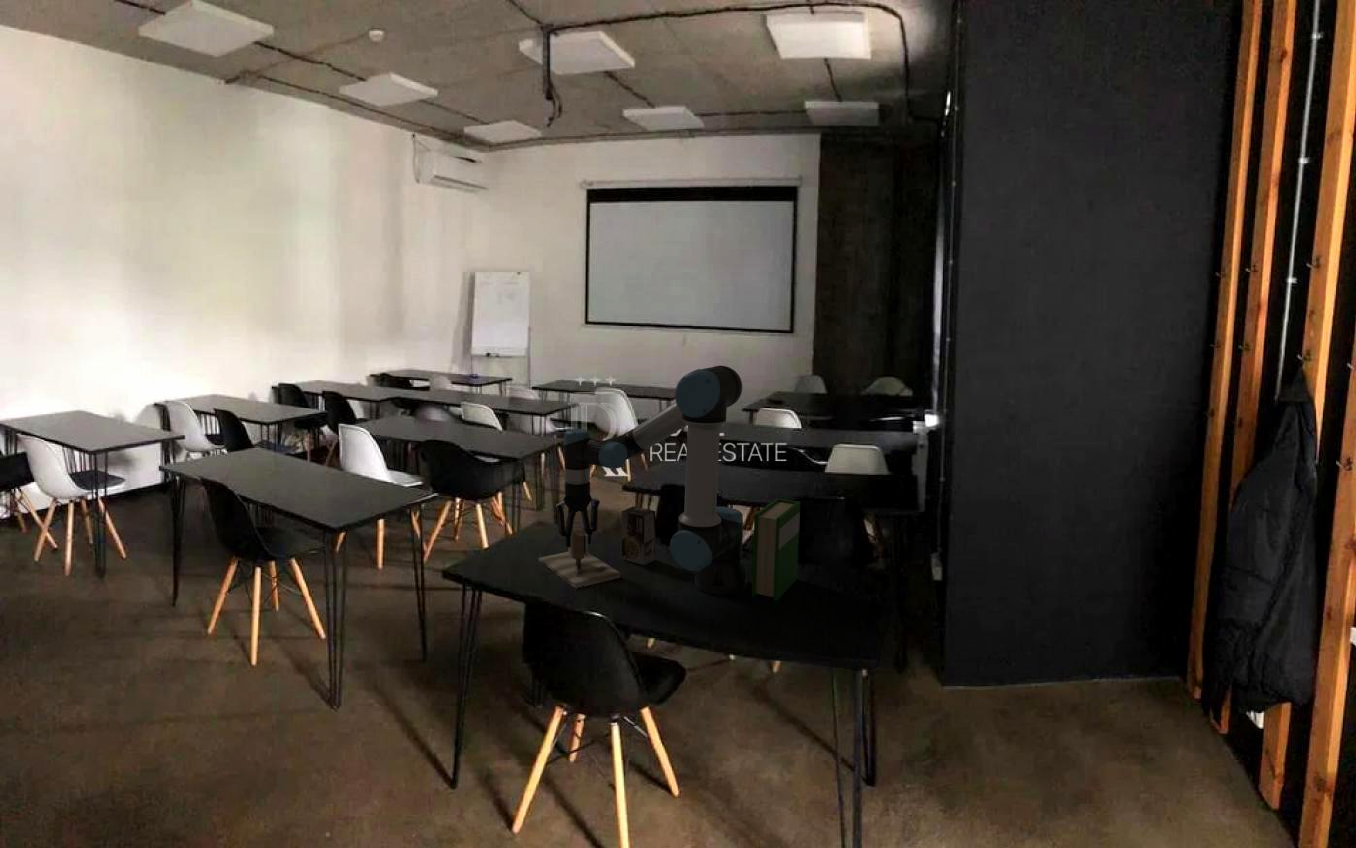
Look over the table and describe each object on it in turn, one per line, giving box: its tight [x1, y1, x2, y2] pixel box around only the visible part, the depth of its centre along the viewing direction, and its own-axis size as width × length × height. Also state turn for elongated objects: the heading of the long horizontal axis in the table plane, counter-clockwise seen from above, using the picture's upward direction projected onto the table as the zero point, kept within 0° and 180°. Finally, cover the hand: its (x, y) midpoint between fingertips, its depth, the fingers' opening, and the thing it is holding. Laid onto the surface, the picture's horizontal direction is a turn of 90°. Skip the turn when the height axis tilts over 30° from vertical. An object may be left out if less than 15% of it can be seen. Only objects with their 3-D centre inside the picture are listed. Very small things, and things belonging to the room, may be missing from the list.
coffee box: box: [620, 506, 656, 566], centre depth 241 cm, size 9×6×16 cm
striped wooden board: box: [538, 551, 621, 589], centre depth 233 cm, size 24×15×2 cm, turn 36°
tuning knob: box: [572, 527, 584, 574], centre depth 230 cm, size 12×3×10 cm, turn 10°
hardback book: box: [751, 497, 801, 602], centre depth 220 cm, size 18×7×24 cm, turn 153°
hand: (578, 555), depth 233 cm, fingers closed on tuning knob, 4 cm apart
